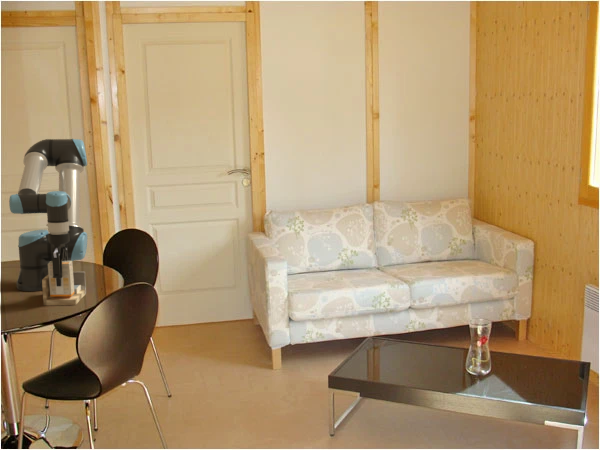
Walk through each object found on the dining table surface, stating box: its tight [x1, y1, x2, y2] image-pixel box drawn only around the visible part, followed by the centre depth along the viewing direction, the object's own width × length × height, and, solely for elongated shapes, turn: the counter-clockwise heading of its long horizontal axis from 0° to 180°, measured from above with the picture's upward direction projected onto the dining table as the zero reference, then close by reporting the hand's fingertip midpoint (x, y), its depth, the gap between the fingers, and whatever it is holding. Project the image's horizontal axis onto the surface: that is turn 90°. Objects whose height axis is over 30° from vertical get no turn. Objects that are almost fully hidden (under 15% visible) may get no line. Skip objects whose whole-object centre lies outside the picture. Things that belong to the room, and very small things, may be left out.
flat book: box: [74, 285, 81, 294], centre depth 275 cm, size 6×8×2 cm
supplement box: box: [48, 261, 74, 297], centre depth 267 cm, size 8×5×13 cm, turn 92°
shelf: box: [42, 271, 87, 306], centre depth 272 cm, size 16×12×10 cm
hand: (62, 291), depth 268 cm, fingers closed on supplement box, 5 cm apart
